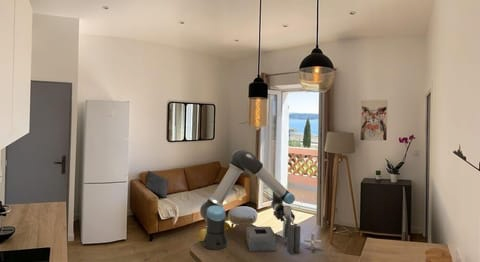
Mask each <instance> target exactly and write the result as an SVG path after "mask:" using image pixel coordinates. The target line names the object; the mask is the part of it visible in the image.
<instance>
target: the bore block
mask: <svg viewBox="0 0 480 262" xmlns="http://www.w3.org/2000/svg"><path fill="white" fill-rule="evenodd" d="M276 240H277V236H276V234H275V232H274V230H273V229H272V226H247V227H246V242H247V247H248V251H249V252H275V251H276V243H277V241H276Z"/></svg>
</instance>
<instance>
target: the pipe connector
mask: <svg viewBox="0 0 480 262" xmlns="http://www.w3.org/2000/svg"><path fill="white" fill-rule="evenodd" d="M304 243H310V249H311V250H315V244H322V240H320V239H315V232H311V236H310V238H304Z"/></svg>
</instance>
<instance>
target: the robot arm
mask: <svg viewBox="0 0 480 262" xmlns="http://www.w3.org/2000/svg"><path fill="white" fill-rule="evenodd" d="M228 165H229V168H228V170H227V171H226V173H225V174H224V176H223V177H222V179H221V181H220V182H219V184H218V186H217V188H216V189H215V191H214V193H213V195H211V197H208V199H206V201H205V202H203V203H202V204H201V206H200V208H199V213H200V215H201V218H202V220H204V221H205V222H206V232H205V236H204V238H203V247H205V248H206V249H208V250H214V251H217V250H222V249H224V248H226V247H228V239H227V235H226V216H227V215H226V209H225V207H224V205H223V204H224V202H225V200H226V199H227V197H228V195H229V193H230V191H231V190H232V189H233V186H234V185H235V183H236V182H237V180H238V178H239V177H240V175H241V174H242V173H244V172H245V171H248V172H249V173H251V175H254V176H256V177H257V179H259V180H260V181H261V182H262V183H263V184H264V185H266V186H267V187H268V188H269V189H270V190H271V192H272V201H271V202H270V203H271V204H270V205H271V208H272V210H273V216H274V217H275V218H276V219H277V220H279V221H280V222H282V223H283V222H284V223H285V224H286V219H285V217H284V206H285V205H284V204H283V202H284V203H285V204H288V205H292V204H293V203H294V202H295V199H296V197H295V195H294V194H293V193H291V192H290V191H289V190H288V189H287V188H286V187H285V186H284V185H283V184H282V183H281V182H280V181H278V179H276V177H275V176H273V175H272V174H271V173H270V171H268V169H266V167H264V164H263V163H262V162H261V160H260V159H258V157H257V156H256V155H254V154H253V152H250V151H248V150H245V149H237V150H235V151H233V153H232V154H231V160H230V162H229V164H228ZM295 216H296V215H295V214H294V212H293V211H292V210H291V225H293V224H294V221H295V220H296V219H295V218H296V217H295Z"/></svg>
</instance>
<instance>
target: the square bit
mask: <svg viewBox="0 0 480 262" xmlns="http://www.w3.org/2000/svg"><path fill="white" fill-rule="evenodd" d="M292 208H293V207H292V206H290V205H284V217H285V219H286V224H285V223H284V222H283V221H282V237H283V239H287V233H288V224H290V225H292V223H291V211H292V210H293V209H292Z"/></svg>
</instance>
